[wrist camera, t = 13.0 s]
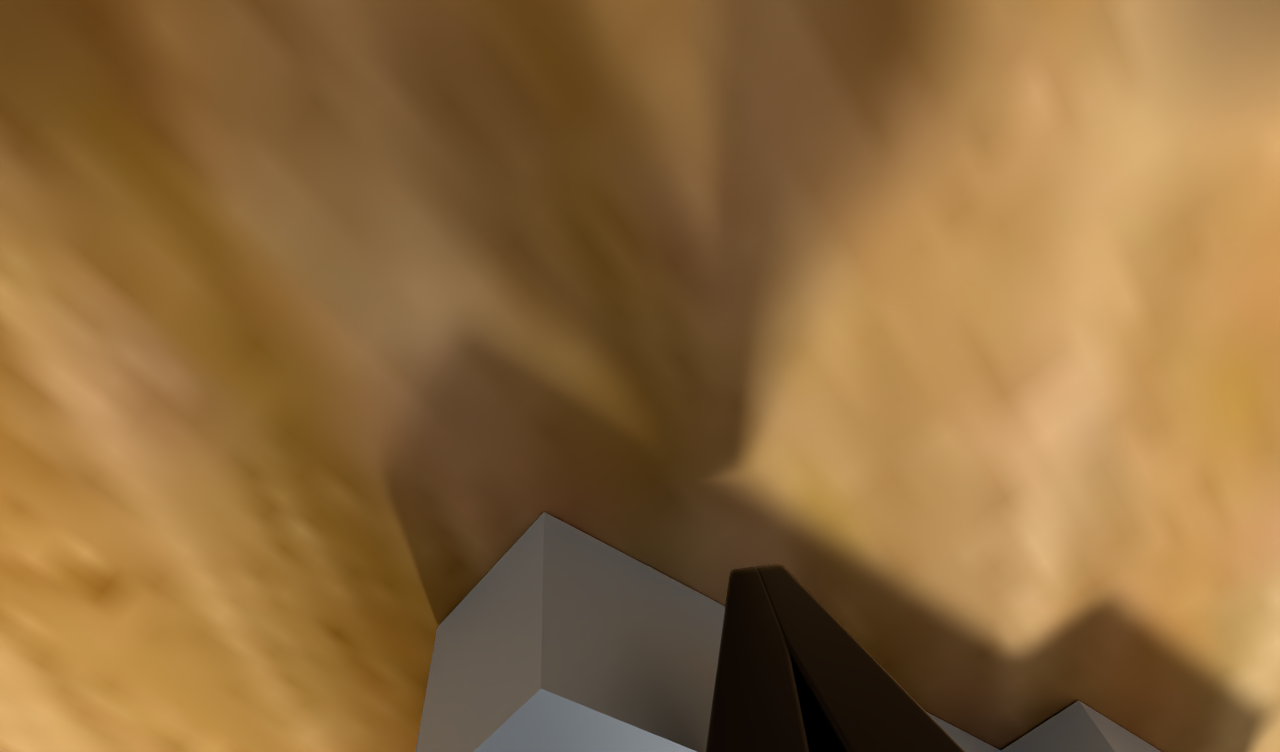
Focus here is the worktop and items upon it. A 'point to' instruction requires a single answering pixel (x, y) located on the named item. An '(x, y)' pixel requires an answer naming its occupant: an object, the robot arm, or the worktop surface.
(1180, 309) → the worktop surface
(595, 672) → the link
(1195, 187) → the worktop surface
